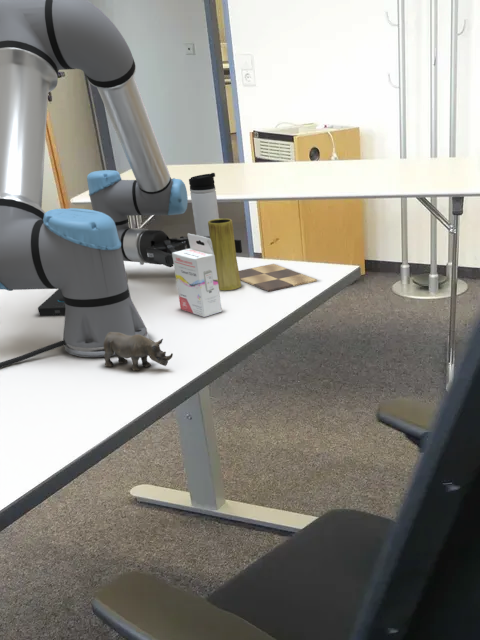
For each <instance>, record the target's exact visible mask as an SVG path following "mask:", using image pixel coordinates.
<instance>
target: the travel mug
mask: <svg viewBox="0 0 480 640" xmlns="http://www.w3.org/2000/svg"><path fill="white" fill-rule="evenodd" d="M215 177H216V173H215V172H211V173H204V174H199V175H194V176H192V177H190V178H189V179H188V184H189V191H190V200H191V206H192V214H193V221H194V229H195V235H198V236H210V234H209V227H208V221H210V220H213V219H220V215H219V206H218V205H219V204H218V199H217V191H216V185H215Z"/></svg>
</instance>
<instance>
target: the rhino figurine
mask: <svg viewBox="0 0 480 640" xmlns="http://www.w3.org/2000/svg"><path fill="white" fill-rule="evenodd" d="M163 340H164V338H161V339H160V340H158V341H155V340H152V339H150V338H149V337H148V338H147V337H145V336H143V335H139V334H137V335H133V336H129V335H125V334H123V333H119V332H109V333H108V334H107V335H106V337H105V340H104V350H105V354H104V357H103V358H104V367H113V366H114V362H113V361H112V360H111V358H112V356H111V355H113V354H114V352H115V355H114V356H116V357H117V362H118V363H120V364H127V363H128V362H129V361H128V359H131V362H132V364H131V369H132V371H140V369H141V367H140V366H139V361H140V360H141V365H142V367H146V368H147V367H151V366H152V364H151V362H149V361H148V357H149V359H150V360H151V361H152V362H155V363H157V364H159V365H161V366H164V367H167V366H168V363H169V361H170V360H171V359H172V358H173V355H174V353H172V352H171V353H170V354H169V355H166V353H167V352H166V351H164V350H162V349H161V346H160V345H161V344H162V343H163Z"/></svg>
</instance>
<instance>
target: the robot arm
mask: <svg viewBox="0 0 480 640" xmlns="http://www.w3.org/2000/svg"><path fill="white" fill-rule="evenodd" d="M64 70H65V71H67V70H81V71H82V72H83V73H84V74H85V76H86V79H87V81H88V82H89V84H90V85H91V86H93V87H95V88H96V89H97V91H98V93H99V95H100V98H101V101H102V103H103V105H104V107H105V110H106V113H107V115H108V117H109V120H110V122H111V124H112V127H113V128H114V132H115V134H116V136H117V138H118V140H119V143H120V146H121V148H122V150H123V152H124V155H125V157H126V159H127V162H128V164H129V167H130V169H131V172H132V174H133V176H134V178H135V179H122V177H121V173H120V172H119V171H117V170H114V169H113V170H111V169H110V170H109V169H105V170H104V169H103V170H96V171H91V172H89V173H88V174H87V176H86V181H87V188H88V197H89V199H90V204H91V208H92V209H87V208H76V207H69V208H55V209H49V210H47V211H44V210H43V208H42V205H43V189H44V174H45V173H44V171H45V168H44V167H45V154H46V153H45V152H46V139H47V138H46V137H47V136H46V135H47V134H46V133H47V120H48V119H47V118H48V103H49V102H48V100H49V93H51V92H52V91H54V90H55V89H56V87H57V86H58V82H59V81H58V80H59V71H64ZM136 70H137V66H136V62H135V59H134V56H133V54H132V51H131V49H130V46H129V45H128V43H127V41H126V39H125V37H124V36H123V35H122V33H121V31H120V30H119V29H118V27H117V26H116V25H115V23H114V22H113V21H112V20H111V19H110V18H109V17H108V15H106V14H105V13H104V12H103V11H102V10H101V9H100V8H99V7H97V6H96V5H95V4H94V3H93V2H91V1H89V0H0V290H6V291H8V292H9V291H10V292H12V291H20V290H21V291H22V290H24V291H25V290H26V291H27V290H58V289H61V290H62V294H63V298H64V302H65V308H66V309H65V315H64V321H63V333H62V334H63V335H62V337H63V338H62V340H60V341H57V342H54V343H52V344H49V345H46V346H43V347H41V348H37V349H35V350H32V351H30V352H28V353H25V354H22V355H19V356H17V357H13V358H10V359H7V360H3V361H1V362H0V369H1V368H4V367H7V366H10V365H13V364H16V363H20V362H22V361H25V360H28V359H30V358H33V357H35V356H38V355H41V354H43V353H46V352H49V351H52V350H55V349H58V348H60V347H64V349H65V351H66V353H68V354H69V355H71V356H76V357H82V358H105V357H104V354H105V350H104V340H105V337H106V335H107V334H108V333H109V332H119V333H123V334H125V335H129V336H133V335H137V334H139V335H143V336H145V337H147V338H149V334H148V328H147V326H146V325H145V322H144V321H143V319H142V317H141V315H140V314H139V311H138V310H137V308H136V305H135V304H134V301H133V300H132V297H131V294H130V287H129V283H128V282H129V281H128V276H127V272H126V266H125V262H134V263H139V265H140V266H144V264H149V265H159V266H161V265H163V266H165V267H168V268H172V267H173V268H174V263H173V257H172V253H173V252H177V251H181V250H185V249H189V248H190V244H189V240H188V236H183V235H182V236H180V237H179V238H178V237H170V236H169V235H168V234H167V233H166V232H165V231H164V230H161V229H148V228H139V227H138V228H136V227H130V224H129V222H130V221H129V216H130V217H131V216H134V217H135V216H169V217H170V216H175V215H183V214H184V213H186V212H187V209H188V204H189V203H188V202H189V199H188V197H189V196H188V191H187V186H186V184H185V182H184V181H183V180H182V179H181V178H175V177H173V178H172V177H171V174H170V172H169V169H168V166H167V163H166V160H165V158H164V155H163V152H162V150H161V147H160V144H159V141H158V138H157V136H156V133H155V130H154V127H153V124H152V122H151V119H150V117H149V113H148V110H147V108H146V105H145V103H144V100H143V97H142V94H141V91H140V89H139V86H138V83H137V81H136V77H135V74H136ZM202 237H206V238H210V236H202ZM234 241H235V250H236V254H241V253H243V247H242V239H234ZM196 243H197V244H200V245H204V243H203V242H201V241H200V240H199V241H196ZM114 356H116V355H115V352H114V354H113V355H111V357H114Z"/></svg>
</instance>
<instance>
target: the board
mask: <svg viewBox="0 0 480 640" xmlns="http://www.w3.org/2000/svg"><path fill="white" fill-rule="evenodd" d="M239 276H240V281H241V282H244V283H246V284H248V285H251V286H253V287H256V288H259V289H261V290H263V291H266V292H268V293H269V292H273V291H278V290H284V289H287V288H292V287H297V286H300V285H305V284H310V283H315V282H317V280H318V279H317V278H314V277H311V276H308V275H306V274H303V273H300V272H298V271H295V270H292V269H289V268H286V267H284V266H281V265H278V264H275V263H271V264H266V265H261V266H256V267H250V268H246V269H242V270H241V269H240V270H239Z"/></svg>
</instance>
